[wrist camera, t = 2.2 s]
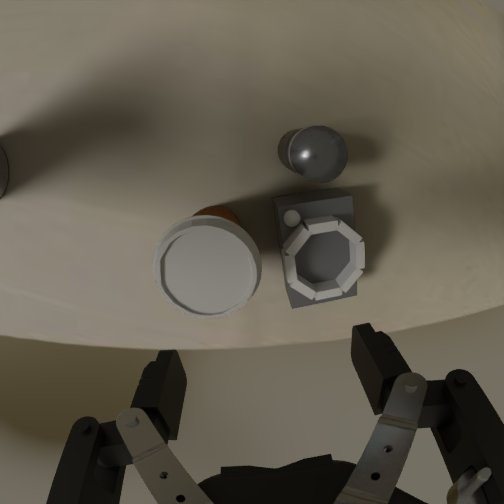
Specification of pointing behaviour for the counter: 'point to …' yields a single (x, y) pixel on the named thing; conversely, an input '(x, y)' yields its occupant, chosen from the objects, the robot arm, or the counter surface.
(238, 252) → the disposable coffee cup
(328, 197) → the grey octagonal socket block
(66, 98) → the counter surface
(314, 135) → the thermos
